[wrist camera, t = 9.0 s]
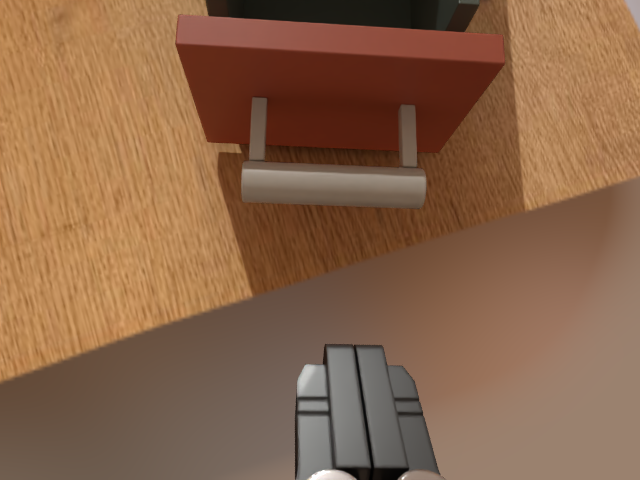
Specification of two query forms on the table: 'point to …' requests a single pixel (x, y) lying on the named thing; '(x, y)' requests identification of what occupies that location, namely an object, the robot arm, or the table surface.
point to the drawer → (336, 89)
